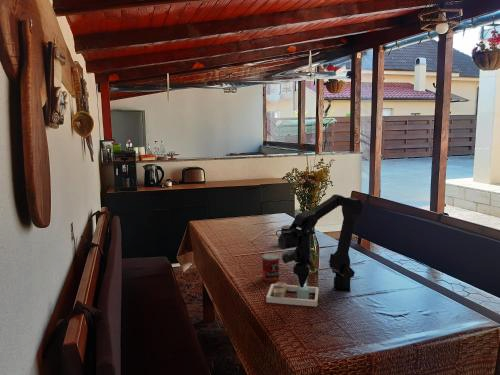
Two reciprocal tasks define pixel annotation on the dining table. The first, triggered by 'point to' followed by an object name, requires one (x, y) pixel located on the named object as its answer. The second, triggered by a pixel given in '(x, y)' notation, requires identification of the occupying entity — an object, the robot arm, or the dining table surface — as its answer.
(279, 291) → the maple block
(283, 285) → the maple block
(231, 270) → the dining table surface
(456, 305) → the dining table surface
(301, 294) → the block teal
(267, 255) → the canned food
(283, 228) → the coffee mug
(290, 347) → the dining table surface
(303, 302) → the tray
